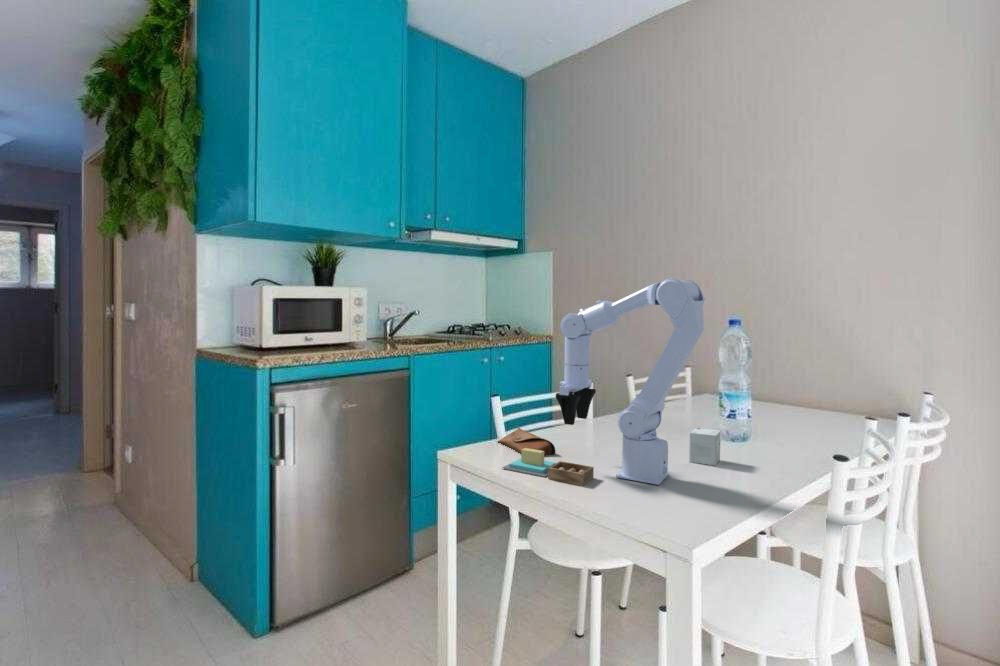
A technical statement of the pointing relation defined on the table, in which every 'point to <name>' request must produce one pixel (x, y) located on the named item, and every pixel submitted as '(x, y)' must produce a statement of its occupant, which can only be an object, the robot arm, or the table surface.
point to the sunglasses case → (527, 442)
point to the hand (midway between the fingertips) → (575, 421)
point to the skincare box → (704, 446)
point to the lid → (532, 461)
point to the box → (570, 473)
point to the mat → (526, 471)
